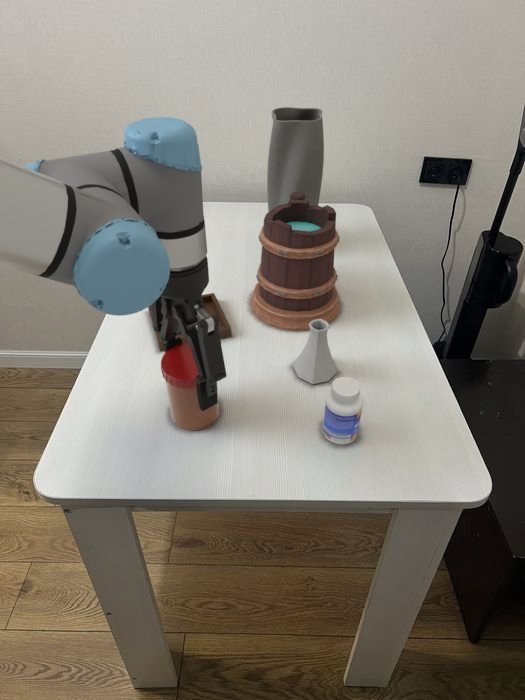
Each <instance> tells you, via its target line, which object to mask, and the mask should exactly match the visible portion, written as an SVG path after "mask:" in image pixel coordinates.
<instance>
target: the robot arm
mask: <svg viewBox="0 0 525 700" xmlns="http://www.w3.org/2000/svg"><path fill="white" fill-rule="evenodd" d="M123 132H124V134H123V135H124V140H123V147H118V148H115V149H111V150H106V151H100V152H99V151H98V152H93V153H87V154H80V155H79V154H78V155H73V156H67V157H66V156H65V157H59V158H54V159H53V158H52V159H44V158H42V159H39V160H37V161H35V162H30V163H26V164H22V165H21V164H20V163H16V162H14V161H11V160H9V159H6V158H4V157H1V156H0V267H2V268H6V269H9V270H13V271H17V272H21V273H26V274H29V275H33V276H36V277H40V278H45V279H47V280H51V281H54V282H57V283H62V284H65V285H69V286H73V287H74V288H75V289H76V290H77V293H78V295H80V297H81V298H82V299H84V300H86V302H87V303H88V304H89V305H90V306H91V307H93V308H94V309H95V310H97V311H99V312H100V313H103V314H106V315H109V316H118V317H119V316H130V315H134V314H137V313H139V312H142V311H144V310H146V309H148V307H149V306H150V305H152V315H153V326H152V329H153V328H154V329H153V332H154V331H155V332H156V333H159V332H160V339H161V340H162V342H164V349H165V350H164V354H165V353H166V352H167V351H168V350H169V349H171V348H173V347H175V346H177V345H180V344H182V339H181V338H180V337H179V338H177V339H176V338H175V337H177V336H179V335H181V334H183V335H186V336H187V339H188V342H189V345H190V348H191V351H192V354H193V357H194V360H195V363H196V366H197V369H198V372H199V375H197V376H196V381H197V388H198V397H199V406H200V409H201V410H202V411H205V410H206V409H208V408H210V407H212V406H214V405H215V404H217V403H218V400H219V397H218V398H217V387H218V382H220V381H222V380H224V379H225V378H227V375H228V374H227V370H226V364H225V359H224V353H223V347H222V342H221V339H220V335H219V318H218V316H217V315H216V314H214V315H212V316H209V315H208V314H207V313H206V312H205V306H204V303H203V300H202V295H203V294H204V291H205V290H206V289H207V287H208V285H209V283H210V273H209V260H208V257H207V255H208V243H207V231H206V222H205V221H206V220H205V216H204V215H205V214H204V199H203V198H204V197H203V181H202V171H203V165H202V163H201V162H202V161H201V154H200V145H199V143H198V136H197V132H196V129H195V128H194V127H193V125H191V124H190V123H188V122H187V121H185V120H183V119H181V118H175V117H168V116H155V117H153V116H152V117H145V118H141V119H140V120H135V121H132V122H130V123H128V125H127V126H126V127H125V129H124V131H123ZM161 321H162V323H160V322H161ZM197 321H198V323H197V324H195V325H193V326H190V327H188V328H187V326H189V325H191V324H193V323H196V322H197ZM180 329H181V331H180ZM181 332H182V333H181Z"/></svg>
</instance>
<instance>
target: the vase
mask: <svg viewBox="0 0 525 700" xmlns="http://www.w3.org/2000/svg"><path fill="white" fill-rule="evenodd" d="M322 114H323V110H322V109H321V108H316V107H291V106H290V107H289V106H285V107H278V108H277V107H276V108H274V109H272V110H271V118H272V126H271V132H270V133H271V134H270V139H269V147H268V156H267V169H266V171H267V173H266V174H267V175H266V191H267V192H266V196H267V210H268V211H267V213H268V212H270V211H271V210H272V209H274V208H275V207H277V206H278V205H283V204H288V202H289V200H290V195H291V194H292V193H293V192H302V193H303V194H304V195H305V200H308V201H309V206H319V205H320V197H321V189H322V182H323V173H324V160H325V141H324V138H325V137H324V124H323V123H324V122H323V120H324V119H323V115H322Z"/></svg>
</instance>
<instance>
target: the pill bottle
mask: <svg viewBox="0 0 525 700" xmlns="http://www.w3.org/2000/svg"><path fill="white" fill-rule="evenodd" d="M324 401H325V402H324V410H323V411H324V412H323V419H322V428H321V429H322V434H323V436H324V437H325V438H326V439H327V440H328V441H329V442H331V443H333V444H336V445H348V444H351V443H352V442H353V441H355V439H356V438H357V436H358V433H359V428H360V424H361V423H360V422H361V416H362V413H363V407H364V399H363V396H362V395H361V385H360V383H359V382H358V380H356V379H354V378H353V377H349V376H339V377H337V378H335V379H334V380H333V381H332V383H331V388H330V390H329V391H328V392H327V393H326V396H325V400H324Z"/></svg>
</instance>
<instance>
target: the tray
mask: <svg viewBox="0 0 525 700" xmlns="http://www.w3.org/2000/svg"><path fill="white" fill-rule="evenodd" d="M202 300H203V303H204V306H205V312H206V313H207V314H208V315H209V316H212V315H214V314H216V315H217V316H218V318H219V335H220V340H222V339H227V338H231V337H232V328H231V325H230V324H229V321H228V319H227V317H226V315H225V312H224V311H223V309H222V307H221V304H220V303H219V300H218V298H217V296H216V294H215V292H211V293H206V294H202ZM147 309H148V310H147V311H148V314H149V319H150V321H151V325H152V329H153V332H154V337H155V340H156V343H157V346H158V350H159V352H162V351H165V349H164V342H162V340H161V339H160V332H159V333H156V332H155V331H154V328H153V315H152V305H150V306H149V307H147ZM160 323H162V321H161V322H160ZM197 323H198V321H197V322H196V323H193V324H191V325H189V326H187V328H188V327H190V326H193V325H195V324H197ZM180 331H181V329H180ZM181 333H182V332H181ZM179 337H180V338H181V339H182V344H184V343H189V342H188V339H187V336H186V335H183V334H181V335H179V336H177V337H175V338H176V339H177V338H179Z"/></svg>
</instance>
